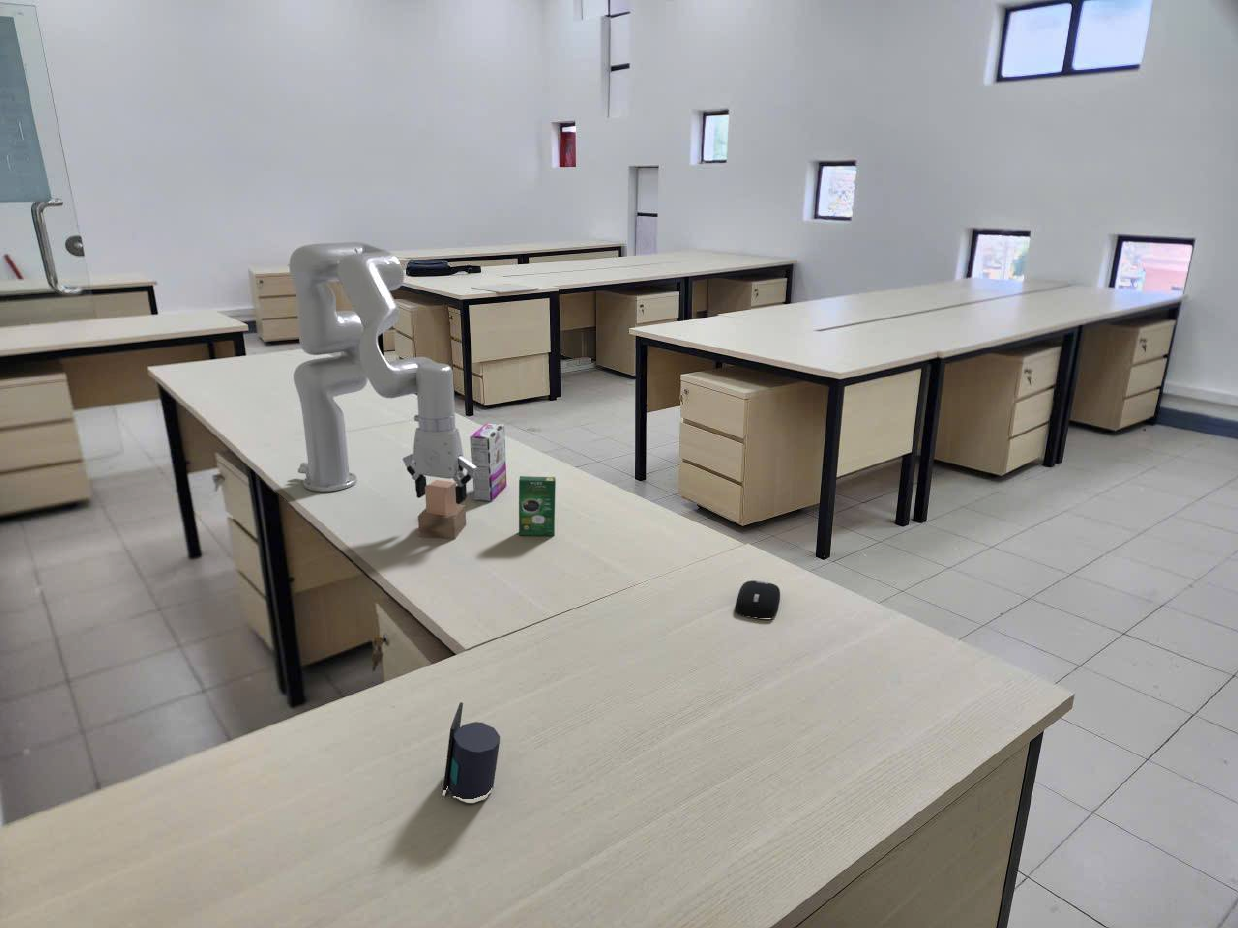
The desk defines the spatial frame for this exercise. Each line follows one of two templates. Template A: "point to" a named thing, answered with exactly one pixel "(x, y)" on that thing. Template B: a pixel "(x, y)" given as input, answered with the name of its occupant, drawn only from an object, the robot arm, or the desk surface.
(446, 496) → the peach-colored cube
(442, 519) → the walnut block
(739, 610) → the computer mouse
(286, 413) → the desk surface
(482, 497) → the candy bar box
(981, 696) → the desk surface
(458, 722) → the speaker
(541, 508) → the coffee box
